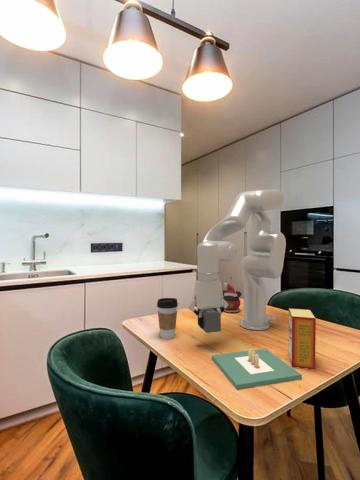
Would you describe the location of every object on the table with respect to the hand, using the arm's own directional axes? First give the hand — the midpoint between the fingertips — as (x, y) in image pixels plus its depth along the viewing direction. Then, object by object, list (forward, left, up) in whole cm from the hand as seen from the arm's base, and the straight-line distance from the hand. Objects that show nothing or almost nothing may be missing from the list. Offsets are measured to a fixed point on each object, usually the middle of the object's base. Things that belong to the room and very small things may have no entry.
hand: (209, 325), depth 98 cm
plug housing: (0, 0, -1) cm, 1 cm away
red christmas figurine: (-27, -40, -8) cm, 49 cm away
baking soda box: (-24, +18, -8) cm, 31 cm away
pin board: (-7, +18, -8) cm, 21 cm away
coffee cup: (+13, -14, -8) cm, 20 cm away
